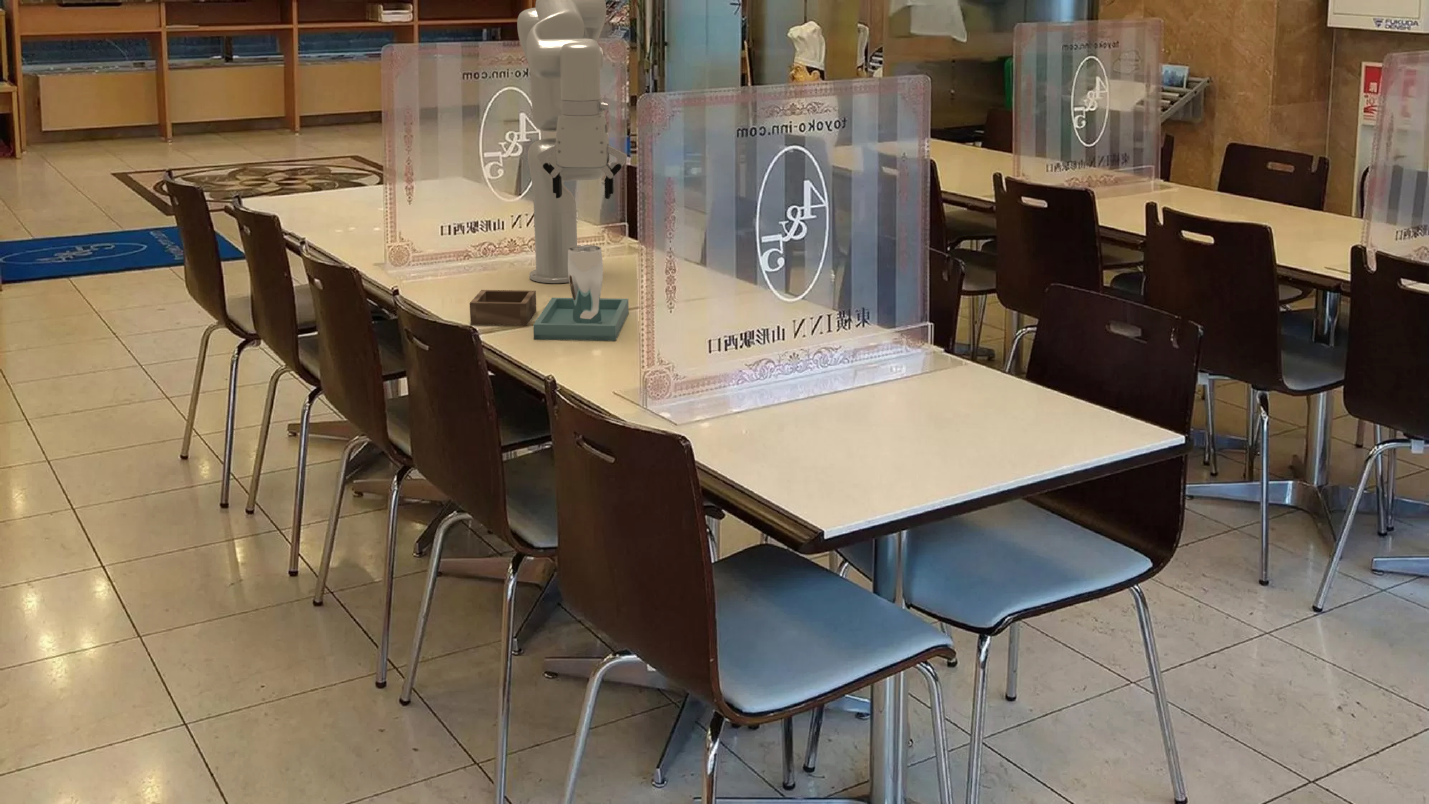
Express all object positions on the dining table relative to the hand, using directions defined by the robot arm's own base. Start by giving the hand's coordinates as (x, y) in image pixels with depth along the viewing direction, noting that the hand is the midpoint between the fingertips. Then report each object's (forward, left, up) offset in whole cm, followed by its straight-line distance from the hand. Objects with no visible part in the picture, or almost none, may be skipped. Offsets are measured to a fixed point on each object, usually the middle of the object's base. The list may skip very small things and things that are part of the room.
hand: (583, 197), depth 292 cm
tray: (-1, -1, -26) cm, 26 cm away
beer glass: (0, 0, -25) cm, 25 cm away
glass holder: (-6, -18, -26) cm, 32 cm away
